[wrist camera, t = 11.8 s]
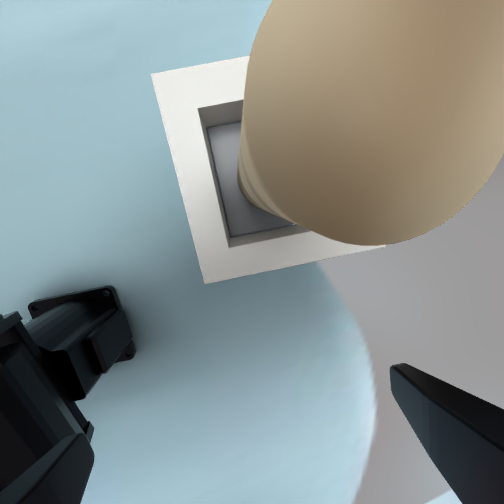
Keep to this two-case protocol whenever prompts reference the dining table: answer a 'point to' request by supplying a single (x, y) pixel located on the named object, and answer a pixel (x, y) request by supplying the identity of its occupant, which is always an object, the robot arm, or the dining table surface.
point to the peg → (372, 114)
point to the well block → (226, 178)
